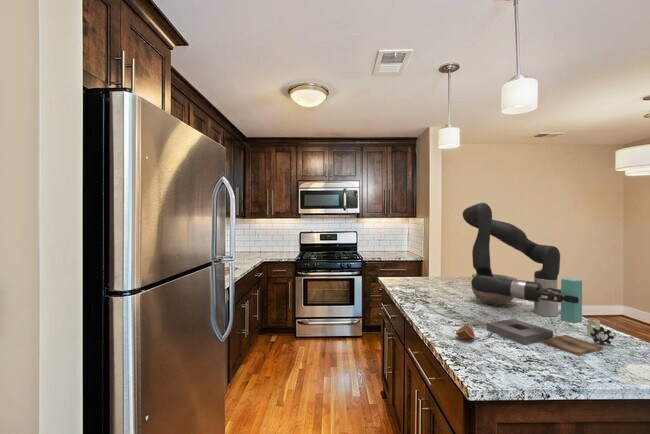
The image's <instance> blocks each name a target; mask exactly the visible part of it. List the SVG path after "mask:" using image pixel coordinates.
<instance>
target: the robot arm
mask: <svg viewBox="0 0 650 434" xmlns="http://www.w3.org/2000/svg"><path fill="white" fill-rule="evenodd" d="M462 218H463V220H464V222H466V223H467V224H468V225H469V226H471V227H473V228H476V229H477V235H476V237H475V238H476V239H475V240H474V244H473V246H472V251H471V252H472V253H471V255H472V267H473V269H474V270H475V271H476V272H475V274H477V276H475V277H474V278H473V277H472V279H471V287H472V286H473V288H474V289H475V290H477V291H480V292H486V293H495V294H499V295H503V296H508V297H514V298H515V299H518V300H522V301H523V300H524V301H529V302H533V303H534V304H533V312H534V313H535V314H536V315H539V316H544V317H552V318H553V317H554V318H555V317H558V315H559V303H560V304H561V302H571V303H579V298H578V297H575V296H568V295H564V294H561V288H560V289H559V288H558V277H559V274H560V267H561V253H560V250H559V249H558V247H556V246H554V245H547V244H539V243H536V242H534V241H532V240H530V239H529V238H528V236H527V234H526V233H525V232H524V231H523V230H522V229H520V228H519V227H518V226H515V225H514V224H512V223H508V222H505V221H500V220H496V219H493V211H492V209H491V206H490V205H489V204H488V203H486V202H480V203H479V202H478V203H475V204H473V205H470V206H468V207H466V208H464V210H463V212H462ZM491 236H492V237H494V238H495V239H498V240H499V241H500V242H502V243H504V244H506V245H507V246H509V247H511V248H513V249H514V250H516V251H518V252H520V253H522V254H524V255H525V256H526V257H527V258H529V259H530V260H532V262H534V263H537V264H541V265H542V268H541V269H540V270H536V271H534V274H533V281H529V280H523V279H522V280H521V279H517V280H511V279H501V278H494V277H493V274H494V273H493V271H492V267H491V255H490V253H491V252H490V243H491V242H490V241H491ZM514 298H513V299H514Z"/></svg>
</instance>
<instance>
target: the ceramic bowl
mask: <svg viewBox="0 0 650 434" xmlns="http://www.w3.org/2000/svg"><path fill="white" fill-rule="evenodd" d="M492 274H493V277H494V278H501V279H511V280H518V278H516V277H512V276H508V275H504V274H497V273H492ZM471 276H472V279H473V278H474V277H475V276H477V273H472V274H471ZM471 290H472V292H473V294H474V296H475V298H476V299H478V300H479V301H480V302H482V303H483V304H487V305H488V306H489V305H490V306H504V305H507V304H509V303H510V302H511V301H512V300H514V297H508V296H503V295H499V294H495V293H486V292H480V291H477V290H475V289H474V288H473V286H472V285H471Z"/></svg>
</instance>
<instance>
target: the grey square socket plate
mask: <svg viewBox="0 0 650 434" xmlns="http://www.w3.org/2000/svg"><path fill="white" fill-rule="evenodd" d="M486 331H487V332H490V333H491V334H492V333H493V334H495V335H498V336H500V337H503V338H506V339H508V340H511V341H513V342H515V343H518V344H521V345H524V346H526V345H530V344H531V345H532V344H535V343H538V342H542V340H544V339H549V338H554V330H551V329H548V328H544V327H542V326H540V325H535V324H532V323H528V322H527V321H523V320H520V319H516V318H509V319H502V320H498V321H497V320H496V321H492V322H487V323H486Z"/></svg>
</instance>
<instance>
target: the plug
mask: <svg viewBox="0 0 650 434" xmlns="http://www.w3.org/2000/svg"><path fill="white" fill-rule="evenodd" d="M560 290H561V294H564V295H568V296H575V297H578V298H579V303H571V302H560V321H564V322H567V323H570V324H572V325H573V324H574V325H575V324H580V323H582V320H583V280H581V279H575V278H571V277H568V278H561V279H560Z"/></svg>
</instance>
